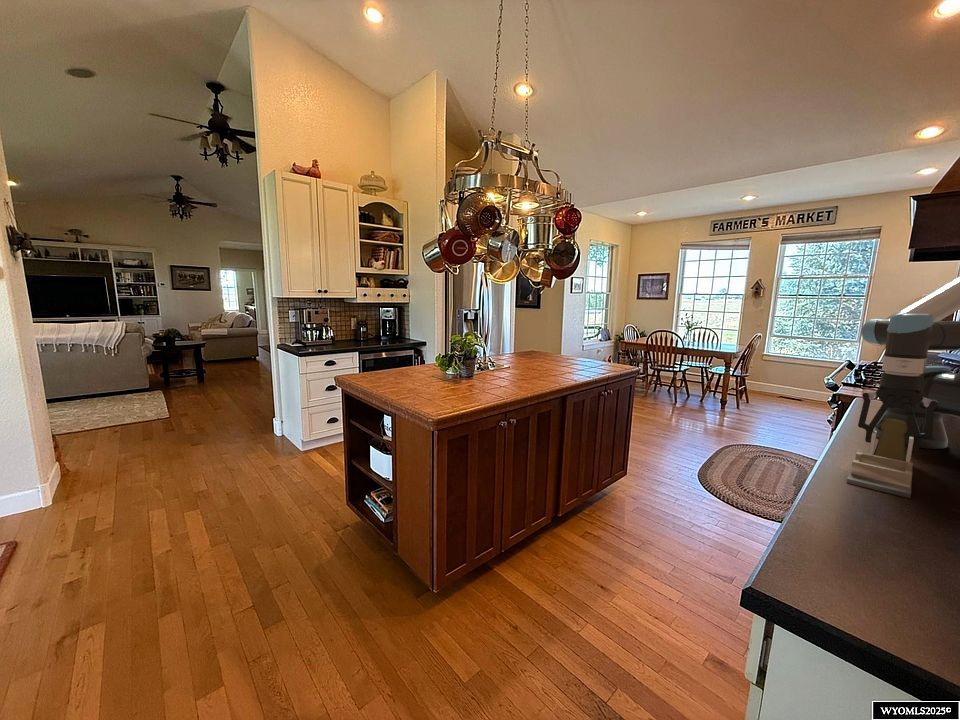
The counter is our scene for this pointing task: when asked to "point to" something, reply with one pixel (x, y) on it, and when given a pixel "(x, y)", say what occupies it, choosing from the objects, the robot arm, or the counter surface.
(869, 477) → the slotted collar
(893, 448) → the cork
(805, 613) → the counter surface
